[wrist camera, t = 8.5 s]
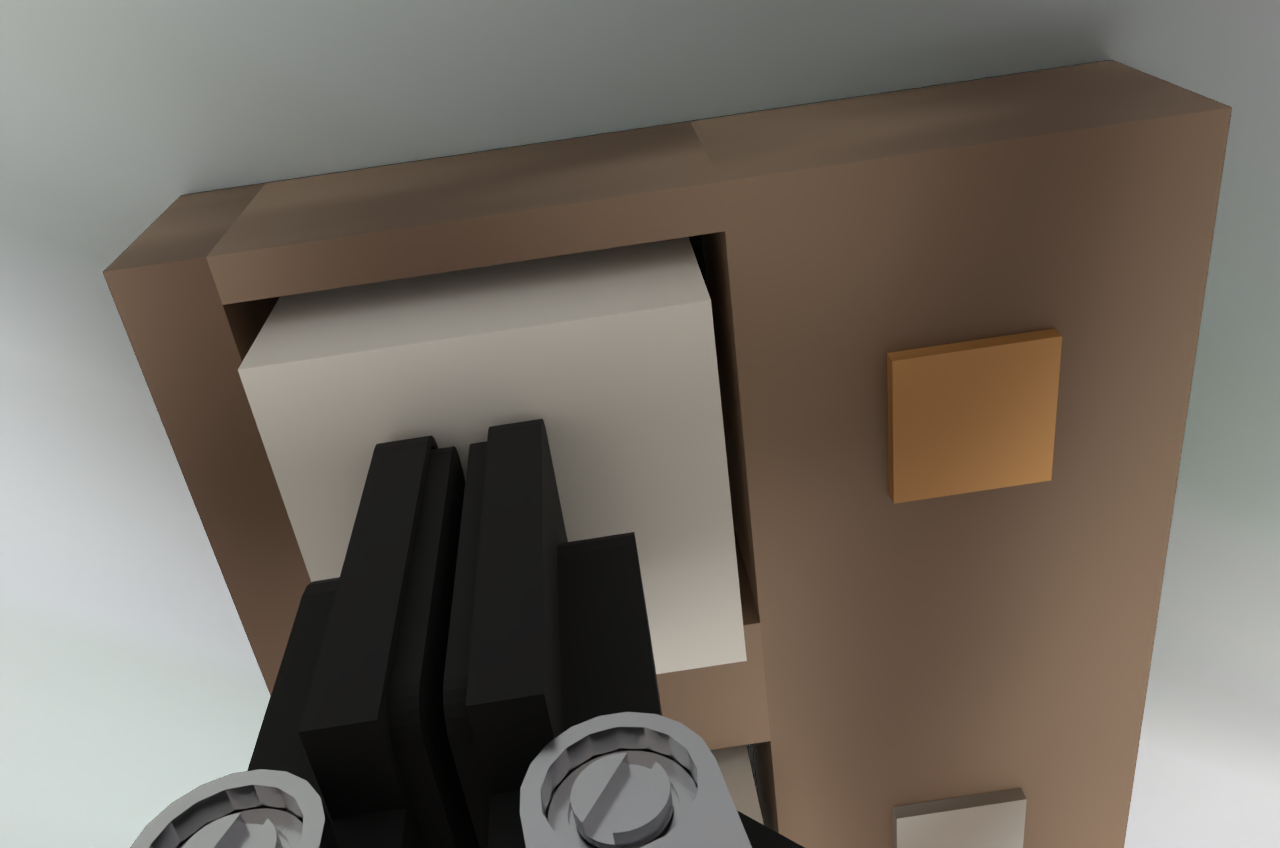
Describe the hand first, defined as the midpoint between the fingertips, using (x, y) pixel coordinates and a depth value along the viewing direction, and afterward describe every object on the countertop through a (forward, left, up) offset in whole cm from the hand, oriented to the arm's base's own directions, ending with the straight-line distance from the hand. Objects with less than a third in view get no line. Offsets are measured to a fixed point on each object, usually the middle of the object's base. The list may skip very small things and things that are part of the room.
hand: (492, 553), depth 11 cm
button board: (-2, +7, -4) cm, 8 cm away
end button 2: (0, 0, -3) cm, 3 cm away
